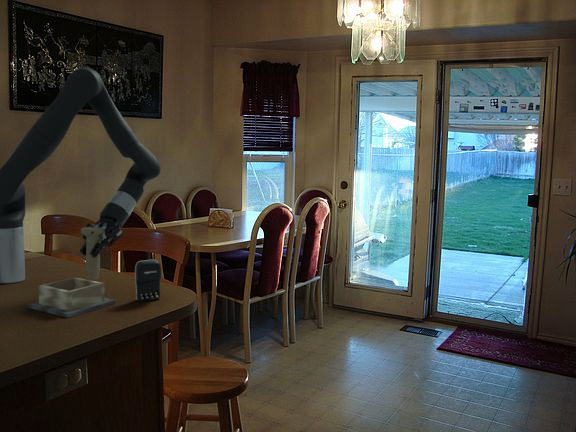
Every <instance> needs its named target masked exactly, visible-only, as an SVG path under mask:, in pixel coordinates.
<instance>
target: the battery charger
mask: <svg viewBox="0 0 576 432" xmlns="http://www.w3.org/2000/svg"><path fill="white" fill-rule="evenodd" d="M134 266H135V267H134V268H135V269H134V277H135V278H134V280H135V300H136V301H139V302H149V301H156V300H159V299H160V298H161V293H160V290H161V289H160V285H161V279H162V265H161V263H160V262H159V261H158V260H157V259H146V260H139V261H137V262H136V264H135V265H134Z"/></svg>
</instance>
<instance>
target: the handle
mask: <svg viewBox="0 0 576 432" xmlns="http://www.w3.org/2000/svg"><path fill="white" fill-rule="evenodd" d="M80 233H81V234H82V236H83V235H85V236H86V239H87V244H86V256H85V268H86V269H85V270H86V275H87V277H86V278H87V280H91V281H95V280H98V279H99V277H100V268H101V254H100V253H101V252H100V253H99V254H98V255H97V256H96V257H95V258H94V257H92V256H91V255H90V252H91V250H92V249H93V247H94V246H95V244H96V243H97V244H98V240H99V236H100V235H101V234H103V233H104V228H102V227H81V228H80Z"/></svg>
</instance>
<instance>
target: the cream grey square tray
mask: <svg viewBox="0 0 576 432" xmlns="http://www.w3.org/2000/svg"><path fill="white" fill-rule="evenodd" d="M105 293H106V292H105V282H100V281H96V280H91V279H86V278H81V277H80V278H79V277H71V278H65V279H61V280H57V281H52V282H49V283H44V284H40V285H38V301H35V302H30V303H28V304H27V308H28V309H31V310H35V311H39V312H43V313H47V314H50V315H51V314H52V315H55V316H58V317H59V316H60V317H63V318H68V319H69V318H72V317H76V316H80V315H83V314H85V313H88V312H89V313H90V312H92V311H95V310H96V311H97V310H99V309H102V308H105V307H109V306H112V305H115V304H116V300H115V299H112V298H106V297H105Z"/></svg>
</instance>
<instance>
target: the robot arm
mask: <svg viewBox="0 0 576 432" xmlns="http://www.w3.org/2000/svg"><path fill="white" fill-rule="evenodd" d="M87 103H88V104H89V106H90V107H91V108H92V110H94V112H95V113H96V114H97V116H98V118H99V120H100V121H101V123H102V125H103V127H104V129H105V132H106V134H107V135H108V137H109V139H110V140H111V142H112V144H113V145H114V146H115V149H117V151H118V152H119V153H120V154H121V156H122V157H123V158H126V159H131V161H132V162H133V164H132V165H131V167H129V169H128V171H127V173H126V176H125V178H124V181H122V183H121V185H120V186H119V187H118V189H117V190H116V191H115V193H114V194H112V196H111V197H110V199H109V200H108V202H107V203H106V204H105V206H104V207H103V209H102V210H101V212H100V213H99V220H97V221H96V222H95V224H91V223H87V224H86V227H102V228H104V233H103V234H101V235H100V236H99V240H98V244H97V243H96V244H95V246H94V247H93V249H92V250H91V252H90V255H91V256H92V257H94V258H95V257H96V256H97V255H98V254H99V253H101V251H102V250H103V249H105V248H106V247H107V248H111V246H113V245H114V244H115V243H116V242H117V241H118V240H119V239H120V238H121V237H122V236H123V235H124V232H123V230H121V228H123V226H124V224H125V223H126V222H127V220H128V219H129V218H130V216H131V214H132V212H133V211H134V209H135V207H136V205H137V203H138V202H139V201H140V199H141V197H142V196H143V194H144V191H145V189H144V187H145V185H146V184H147V183H148V182H149V181H151V180H153V179H156V178H157V177H159V175H160V174H161V165H160V162H159V160H158V159H157V157H156V156H155V155H154V154H153V153H152V152H151V151H150V150H149V149H148V148H146V146H144V144H142V143H141V141H140V140H139V139H138V137H137V136H136V134H135V133H134V131H133V130H132V128H131V127H130V125H129V123H127V121H126V120H125V118H124V117H123V115H122V114H121V112H120V111H119V109H118V108H117V107H116V105H115V103H114V102H113V100H112V98H111V96H110V95H109V93H108V90H107V87H106V86H105V84H104V82H103V79H102V77H101V75H100V73H98V72H97V71H96V70H95V69H93V68H90V67H80V68H76V69H75V70H73V71H72V72H71V73H70V74H69V75H68V78H67V79H66V81H65V82H64V85H63V86H62V87H61V90H60V91H59V93H58V95H56V98H55V99H54V101H52V103H51V104H50V105H49V106H48V107H47V108H46V109H45V111H44V112H43V113H41V115H40V116H39V117H38V118H37V120H36V121H35V122H34V123H33V125H32V126H31V127H30V129H29V130H28V132H27V133H26V134H25V136H24V137H23V139H22V140H21V141H20V142H19V144H18V145H17V147H16V148H15V149H14V151H13V152H12V154H11V156H10V157H8V159H7V161H6V162H5V163H4V164H3V165H2V166H1V167H0V284H12V283H18V282H23V281H24V280H26V265H25V263H26V262H25V238H24V237H25V236H24V235H25V234H24V220H25V217H26V190H25V189H26V188H25V184H24V181H25V180H26V178H27V177H28V176H29V175H30V174H31V173H32V172H33V171H34V170H36V168H38V167H39V166H40V165H42V164H43V163H44V162H45V161H46V160H48V158H49V157H50V156H52V154H54V152H55V150H56V149H57V148H58V147H59V146H60V144H61V142H62V141H63V140H64V138H65V136H66V135H67V134H68V133H67V132H68V131H69V129H70V127H71V125H72V122H73V121H74V118H75V117H76V116H77V115H78V113H79V112H80V111H81V110H82V109H83V107H84V106H85V105H86V104H87ZM86 227H85V228H86ZM82 239H83V241H85V242H84V244H83V245H82V247H80V249H79V253H80V254H81V255H82V256H85V257H86V244H87V239H86V236H85V235H83V234H82Z"/></svg>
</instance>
